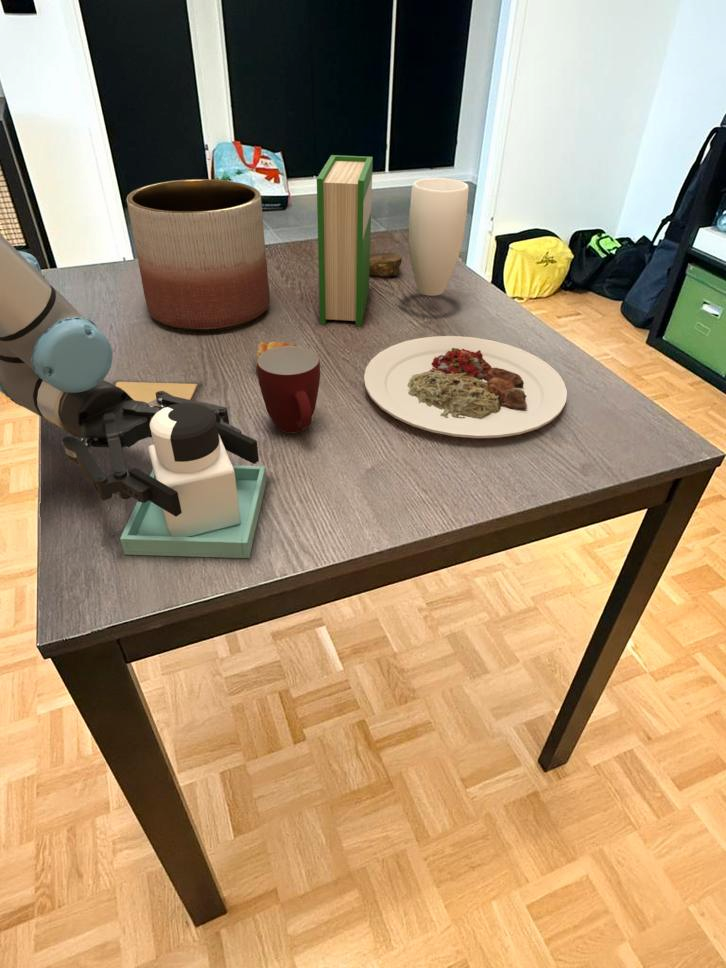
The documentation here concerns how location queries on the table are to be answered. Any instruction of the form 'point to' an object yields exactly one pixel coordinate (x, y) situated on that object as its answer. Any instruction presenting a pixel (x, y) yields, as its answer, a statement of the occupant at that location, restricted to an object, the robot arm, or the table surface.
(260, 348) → the pastry
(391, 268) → the decorative stone
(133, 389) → the mat
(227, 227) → the planter
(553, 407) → the plated food
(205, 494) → the container
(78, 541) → the table surface
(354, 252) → the hardback book
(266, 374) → the mug
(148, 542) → the tray
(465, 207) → the cup
